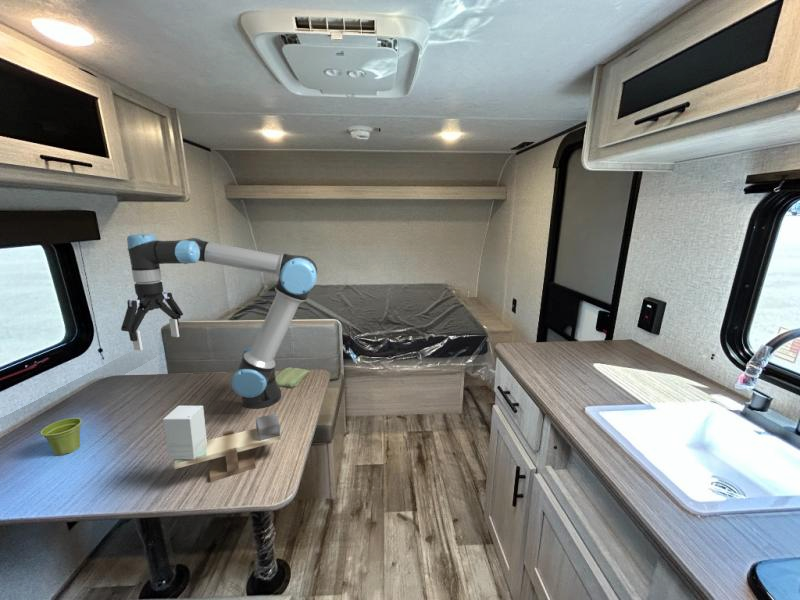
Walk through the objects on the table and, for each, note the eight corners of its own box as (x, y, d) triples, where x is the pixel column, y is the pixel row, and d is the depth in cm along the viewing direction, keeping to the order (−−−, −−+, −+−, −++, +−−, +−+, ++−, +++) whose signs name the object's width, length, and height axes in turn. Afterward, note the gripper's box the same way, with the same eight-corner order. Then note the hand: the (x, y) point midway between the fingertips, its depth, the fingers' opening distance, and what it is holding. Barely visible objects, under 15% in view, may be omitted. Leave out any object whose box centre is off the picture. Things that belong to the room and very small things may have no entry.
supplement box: (208, 443, 102) (204, 405, 99) (194, 460, 94) (189, 419, 92) (182, 443, 101) (178, 404, 99) (166, 460, 94) (161, 418, 92)
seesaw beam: (275, 427, 114) (275, 412, 113) (280, 440, 107) (279, 425, 106) (176, 452, 100) (174, 435, 99) (174, 469, 93) (172, 451, 92)
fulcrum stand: (250, 447, 113) (248, 425, 111) (255, 467, 103) (253, 444, 101) (209, 459, 107) (206, 436, 105) (210, 482, 97) (207, 457, 96)
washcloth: (311, 373, 169) (310, 367, 168) (295, 390, 152) (294, 383, 151) (286, 371, 171) (285, 365, 170) (267, 387, 154) (267, 381, 153)
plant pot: (66, 460, 106) (60, 435, 104) (38, 458, 106) (31, 434, 105) (94, 441, 115) (89, 418, 113) (68, 440, 116) (62, 417, 114)
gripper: (172, 275, 125) (180, 330, 130) (98, 288, 102) (111, 354, 107) (189, 276, 123) (196, 332, 128) (117, 289, 100) (129, 357, 105)
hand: (158, 342), depth 117 cm, fingers open, 13 cm apart
